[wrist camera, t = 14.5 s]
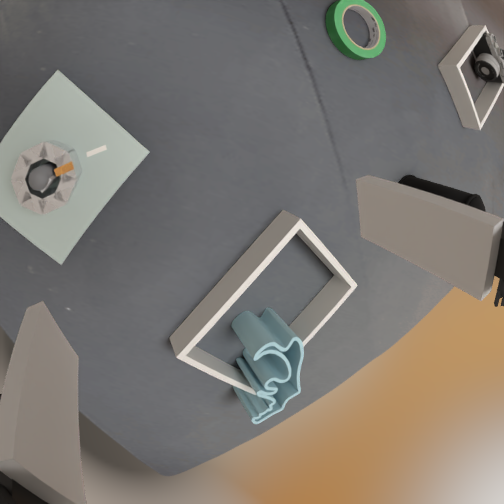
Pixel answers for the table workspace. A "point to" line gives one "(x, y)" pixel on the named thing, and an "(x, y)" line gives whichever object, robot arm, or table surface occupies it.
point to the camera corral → (453, 77)
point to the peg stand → (89, 154)
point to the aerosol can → (444, 191)
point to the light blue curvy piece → (267, 363)
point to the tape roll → (341, 37)
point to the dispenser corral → (240, 281)
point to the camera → (489, 59)
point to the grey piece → (65, 169)
